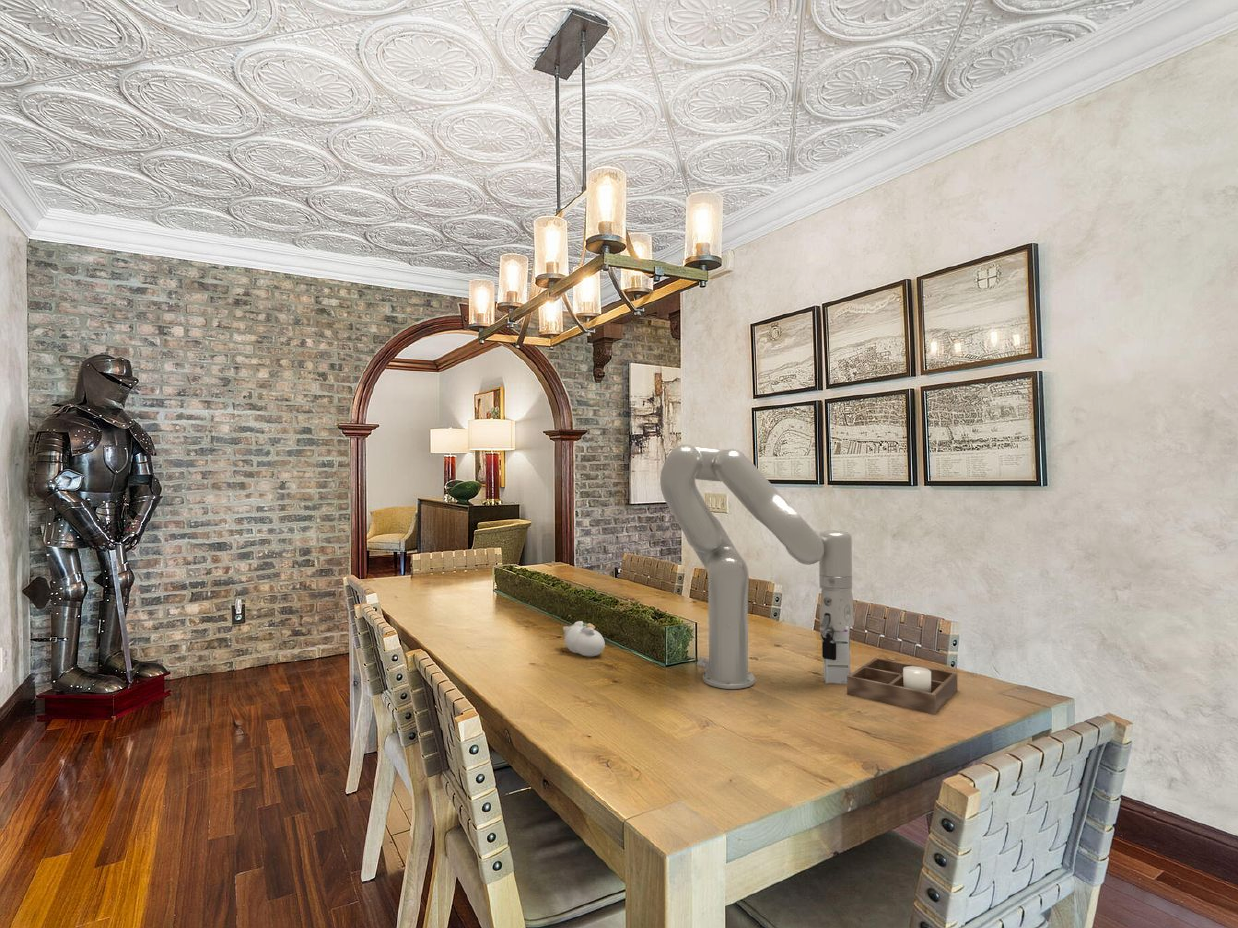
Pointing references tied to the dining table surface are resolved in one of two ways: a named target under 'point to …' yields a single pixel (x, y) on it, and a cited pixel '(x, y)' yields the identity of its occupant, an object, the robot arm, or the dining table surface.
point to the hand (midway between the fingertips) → (836, 654)
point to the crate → (901, 686)
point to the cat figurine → (583, 639)
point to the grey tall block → (838, 660)
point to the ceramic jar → (917, 678)
